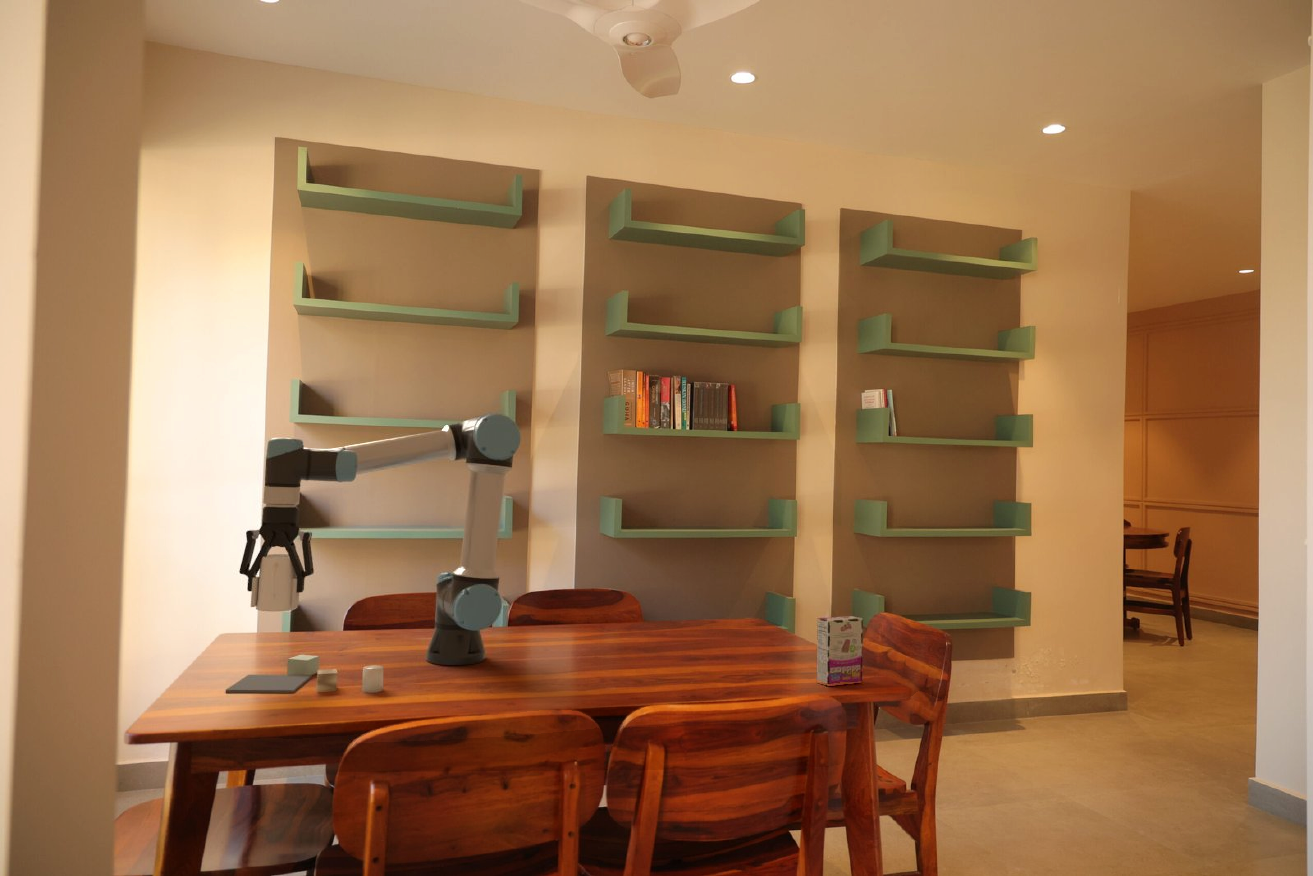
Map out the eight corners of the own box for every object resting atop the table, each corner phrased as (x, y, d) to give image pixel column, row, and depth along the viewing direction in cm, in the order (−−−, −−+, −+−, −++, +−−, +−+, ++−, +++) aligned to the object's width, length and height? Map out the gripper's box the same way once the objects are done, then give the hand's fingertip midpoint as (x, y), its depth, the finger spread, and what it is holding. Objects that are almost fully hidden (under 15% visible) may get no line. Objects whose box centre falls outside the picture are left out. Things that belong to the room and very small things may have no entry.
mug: (287, 614, 183) (290, 559, 184) (245, 613, 182) (249, 558, 182) (301, 606, 195) (304, 554, 195) (262, 605, 193) (265, 553, 194)
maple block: (335, 687, 188) (336, 669, 188) (336, 691, 184) (337, 673, 185) (316, 688, 186) (317, 670, 187) (316, 692, 183) (317, 674, 183)
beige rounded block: (384, 687, 189) (385, 665, 189) (380, 692, 184) (381, 669, 185) (364, 687, 188) (365, 665, 188) (359, 692, 184) (361, 669, 184)
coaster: (311, 677, 195) (311, 675, 195) (293, 693, 181) (293, 690, 181) (248, 677, 193) (248, 674, 193) (225, 692, 179) (225, 689, 179)
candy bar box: (849, 679, 215) (851, 615, 215) (862, 684, 210) (864, 618, 211) (814, 682, 209) (816, 617, 210) (827, 687, 205) (829, 620, 206)
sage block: (318, 673, 201) (319, 656, 201) (306, 677, 196) (307, 660, 196) (299, 671, 202) (300, 654, 202) (286, 675, 197) (287, 658, 197)
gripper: (333, 506, 194) (327, 605, 193) (238, 503, 192) (232, 603, 190) (324, 508, 187) (318, 610, 186) (226, 504, 184) (219, 608, 183)
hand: (274, 606), depth 188 cm, fingers closed on mug, 8 cm apart
